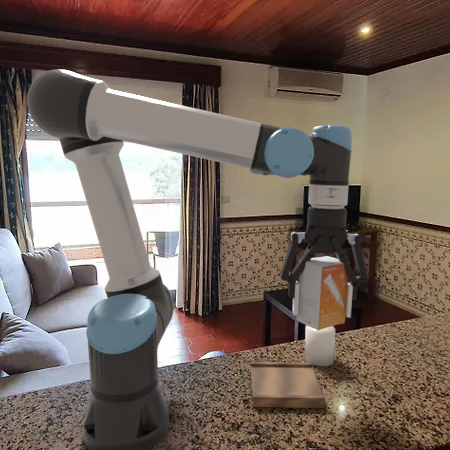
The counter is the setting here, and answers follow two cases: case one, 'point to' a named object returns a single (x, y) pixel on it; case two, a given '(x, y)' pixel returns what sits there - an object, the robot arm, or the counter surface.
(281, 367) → the walnut board
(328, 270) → the small box
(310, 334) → the white cylinder
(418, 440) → the counter surface
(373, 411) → the counter surface
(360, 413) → the counter surface
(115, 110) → the robot arm
